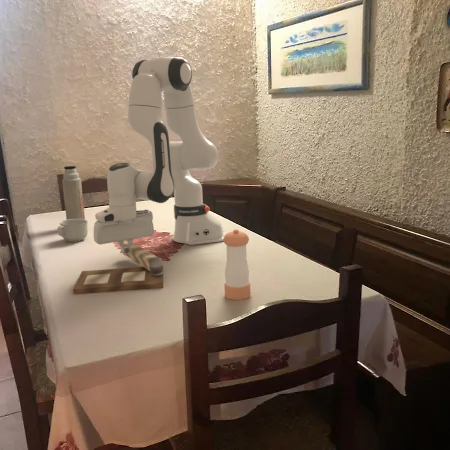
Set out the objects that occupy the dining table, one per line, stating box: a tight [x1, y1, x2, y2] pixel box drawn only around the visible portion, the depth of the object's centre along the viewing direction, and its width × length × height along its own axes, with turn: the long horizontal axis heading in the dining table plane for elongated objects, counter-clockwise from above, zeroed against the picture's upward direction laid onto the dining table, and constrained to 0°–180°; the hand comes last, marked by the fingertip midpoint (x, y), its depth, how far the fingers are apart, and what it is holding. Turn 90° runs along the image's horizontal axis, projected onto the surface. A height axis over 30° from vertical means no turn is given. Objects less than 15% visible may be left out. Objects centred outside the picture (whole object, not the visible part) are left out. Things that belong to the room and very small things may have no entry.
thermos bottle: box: [61, 165, 86, 220], centre depth 215 cm, size 8×8×28 cm
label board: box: [72, 265, 164, 295], centre depth 150 cm, size 26×16×2 cm, turn 97°
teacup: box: [56, 219, 89, 243], centre depth 196 cm, size 14×11×8 cm
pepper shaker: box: [222, 229, 251, 301], centre depth 134 cm, size 7×7×19 cm
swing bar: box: [120, 240, 164, 273], centre depth 160 cm, size 28×4×4 cm, turn 33°
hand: (126, 252), depth 163 cm, fingers closed
